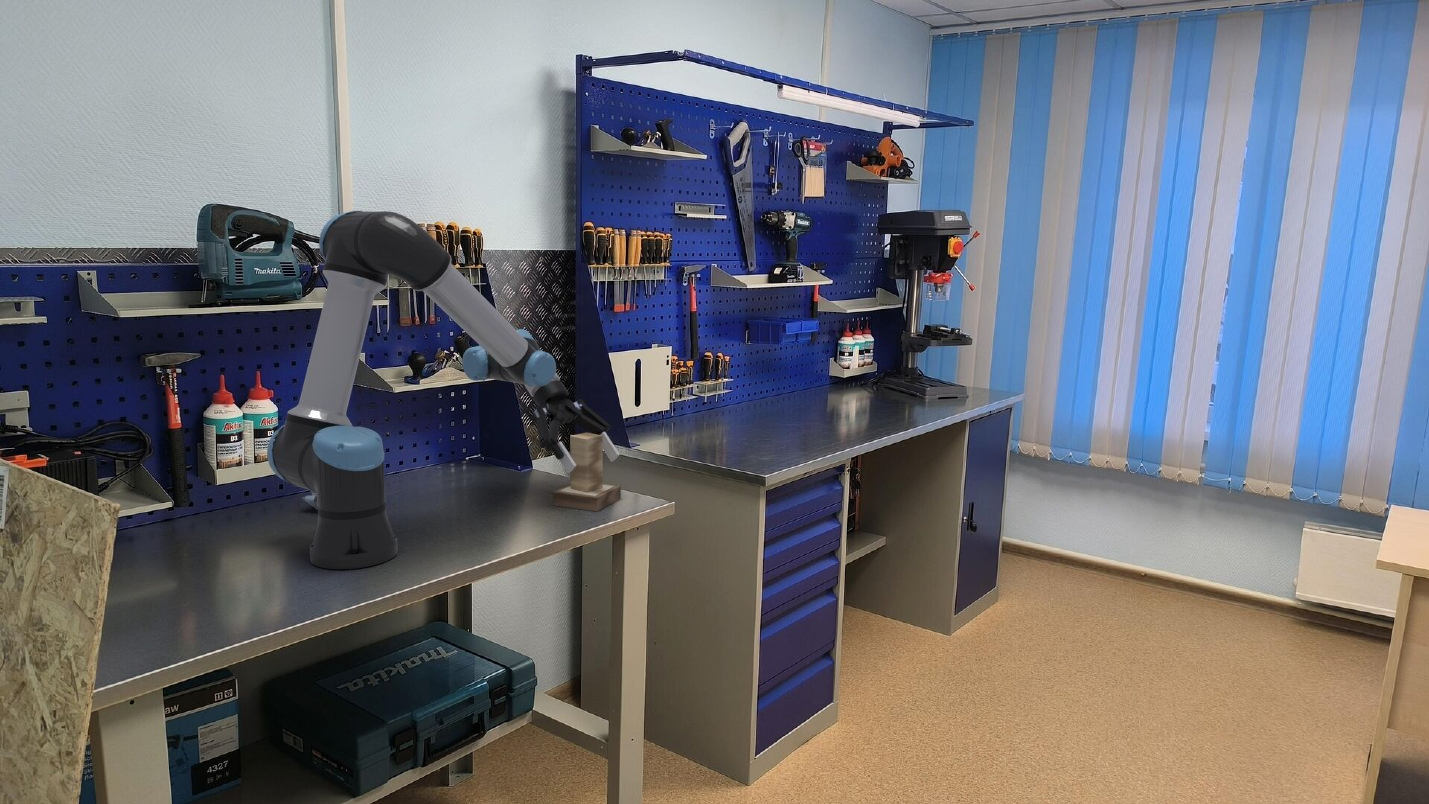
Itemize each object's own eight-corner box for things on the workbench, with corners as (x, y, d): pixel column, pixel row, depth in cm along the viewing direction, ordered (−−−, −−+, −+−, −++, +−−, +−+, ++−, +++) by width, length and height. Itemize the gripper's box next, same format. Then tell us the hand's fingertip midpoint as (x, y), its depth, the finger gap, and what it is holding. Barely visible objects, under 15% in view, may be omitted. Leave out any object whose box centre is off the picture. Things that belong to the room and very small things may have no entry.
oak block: (586, 492, 206) (586, 439, 204) (570, 488, 209) (570, 436, 207) (602, 488, 210) (602, 435, 208) (586, 484, 213) (586, 432, 211)
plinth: (596, 511, 203) (596, 497, 202) (552, 505, 207) (552, 491, 206) (620, 498, 213) (620, 485, 212) (578, 493, 217) (578, 479, 216)
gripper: (577, 392, 225) (623, 463, 219) (495, 406, 205) (544, 484, 199) (593, 372, 221) (641, 444, 215) (511, 385, 201) (561, 464, 195)
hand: (594, 463), depth 207 cm, fingers open, 13 cm apart
